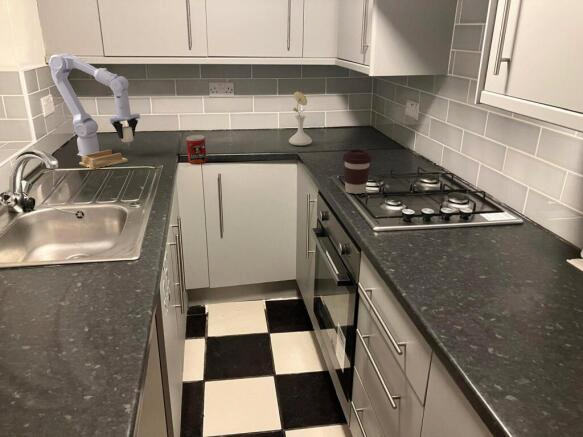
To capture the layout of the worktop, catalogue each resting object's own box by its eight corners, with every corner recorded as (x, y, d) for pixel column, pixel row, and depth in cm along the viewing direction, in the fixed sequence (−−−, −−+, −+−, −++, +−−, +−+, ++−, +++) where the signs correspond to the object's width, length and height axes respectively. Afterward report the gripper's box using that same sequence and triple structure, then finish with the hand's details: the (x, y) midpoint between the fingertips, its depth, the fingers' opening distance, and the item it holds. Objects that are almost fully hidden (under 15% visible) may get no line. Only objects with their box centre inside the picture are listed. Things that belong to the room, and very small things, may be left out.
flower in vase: (315, 146, 227) (316, 93, 217) (294, 148, 223) (294, 94, 213) (305, 139, 238) (305, 89, 228) (284, 142, 234) (283, 90, 224)
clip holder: (79, 164, 201) (78, 155, 199) (113, 156, 212) (112, 147, 210) (93, 169, 194) (92, 160, 192) (128, 161, 205) (127, 152, 203)
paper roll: (119, 141, 208) (117, 127, 206) (129, 138, 212) (127, 125, 209) (125, 142, 205) (123, 129, 203) (135, 140, 209) (133, 127, 206)
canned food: (189, 165, 199) (187, 139, 194) (188, 160, 206) (185, 135, 201) (207, 164, 201) (205, 138, 196) (205, 158, 208) (203, 134, 203)
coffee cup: (366, 187, 174) (369, 147, 167) (371, 196, 164) (374, 155, 158) (339, 187, 173) (341, 147, 167) (343, 197, 164) (345, 155, 158)
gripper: (112, 109, 195) (116, 141, 200) (142, 104, 205) (146, 135, 210) (103, 107, 199) (108, 139, 204) (133, 103, 209) (137, 133, 215)
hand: (127, 137), depth 208 cm, fingers closed on paper roll, 5 cm apart
